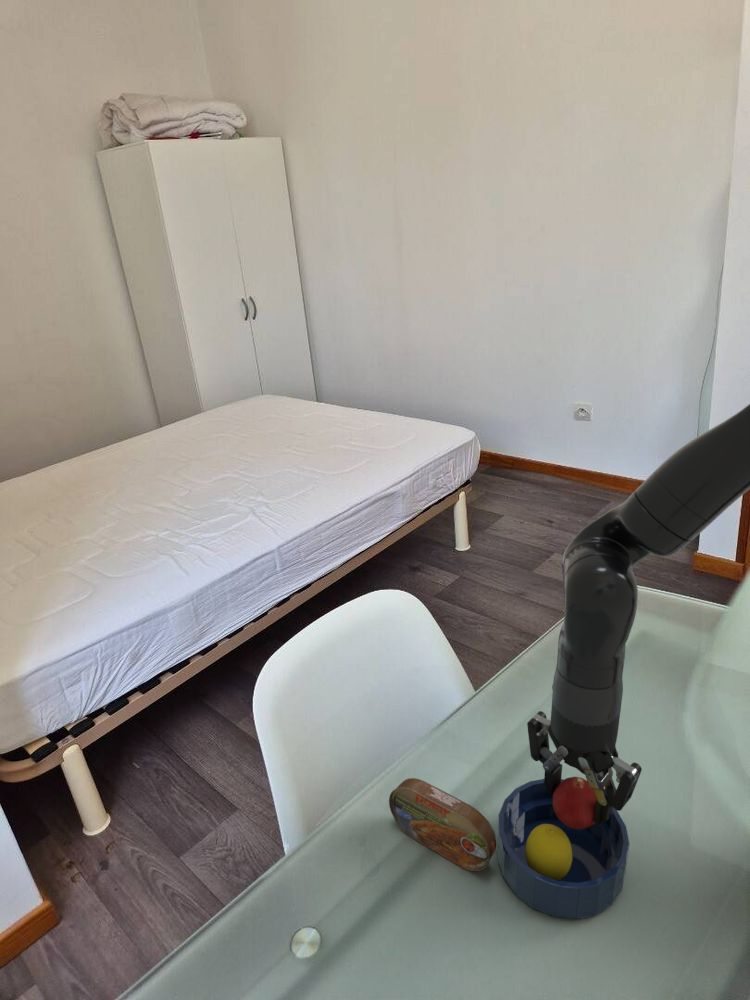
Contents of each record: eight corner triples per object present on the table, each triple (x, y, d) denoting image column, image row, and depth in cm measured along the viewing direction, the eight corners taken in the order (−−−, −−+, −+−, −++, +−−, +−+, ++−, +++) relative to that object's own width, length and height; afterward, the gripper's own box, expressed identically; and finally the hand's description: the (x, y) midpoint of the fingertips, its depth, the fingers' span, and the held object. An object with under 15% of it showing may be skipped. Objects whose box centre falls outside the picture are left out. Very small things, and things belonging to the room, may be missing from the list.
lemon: (579, 878, 84) (584, 834, 81) (548, 905, 81) (551, 860, 78) (545, 846, 88) (548, 803, 85) (514, 870, 86) (516, 826, 82)
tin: (389, 824, 93) (385, 780, 90) (402, 808, 96) (399, 764, 92) (487, 884, 85) (488, 837, 81) (499, 864, 87) (500, 818, 83)
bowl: (646, 857, 87) (651, 825, 84) (582, 949, 77) (586, 915, 75) (540, 791, 97) (542, 759, 94) (473, 864, 87) (473, 832, 85)
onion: (544, 807, 89) (547, 762, 86) (587, 801, 90) (592, 756, 86) (560, 847, 84) (564, 801, 81) (606, 840, 85) (611, 794, 81)
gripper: (662, 711, 76) (645, 818, 83) (549, 657, 85) (543, 756, 92) (630, 750, 71) (615, 859, 78) (514, 688, 81) (510, 790, 88)
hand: (576, 803), depth 85 cm, fingers closed on onion, 6 cm apart
